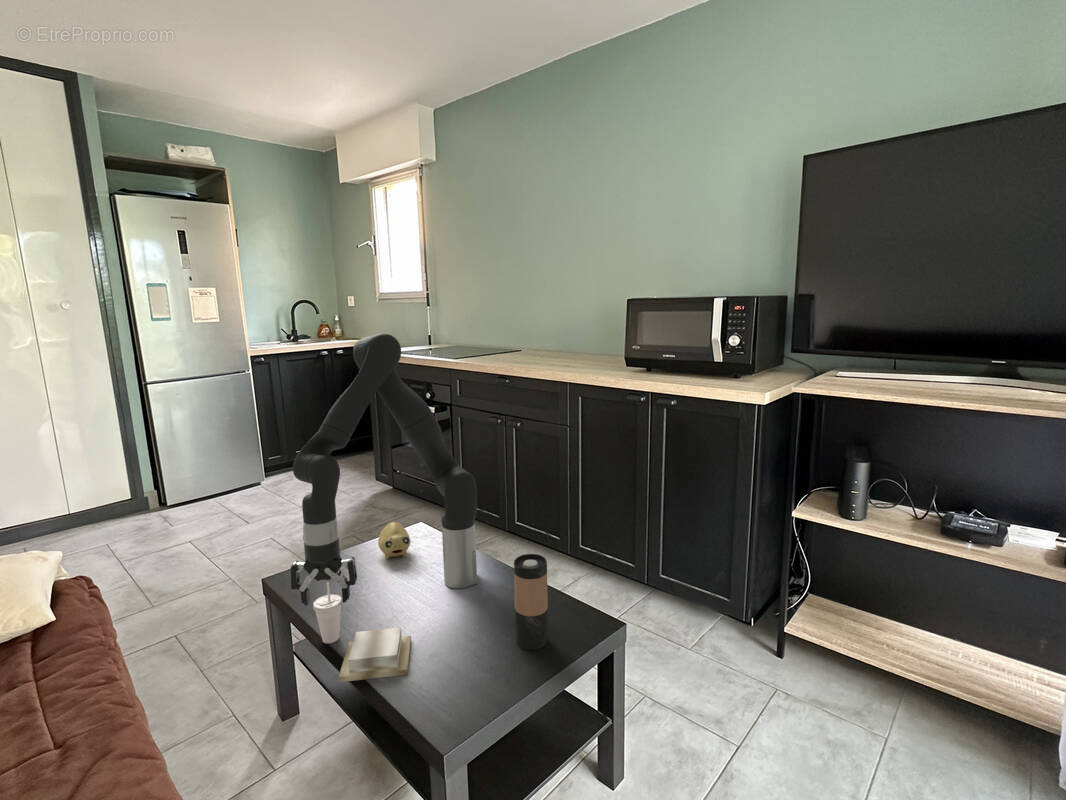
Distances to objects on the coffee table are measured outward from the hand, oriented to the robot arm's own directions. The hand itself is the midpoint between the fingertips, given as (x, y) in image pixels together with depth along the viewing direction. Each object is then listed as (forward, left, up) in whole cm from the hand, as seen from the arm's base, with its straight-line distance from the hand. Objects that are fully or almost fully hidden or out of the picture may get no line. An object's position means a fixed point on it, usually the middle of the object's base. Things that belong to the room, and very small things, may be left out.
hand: (326, 602), depth 125 cm
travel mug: (-47, +9, -10) cm, 49 cm away
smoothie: (0, 0, -10) cm, 10 cm away
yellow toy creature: (-11, -41, -10) cm, 44 cm away
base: (-12, +10, -9) cm, 19 cm away
